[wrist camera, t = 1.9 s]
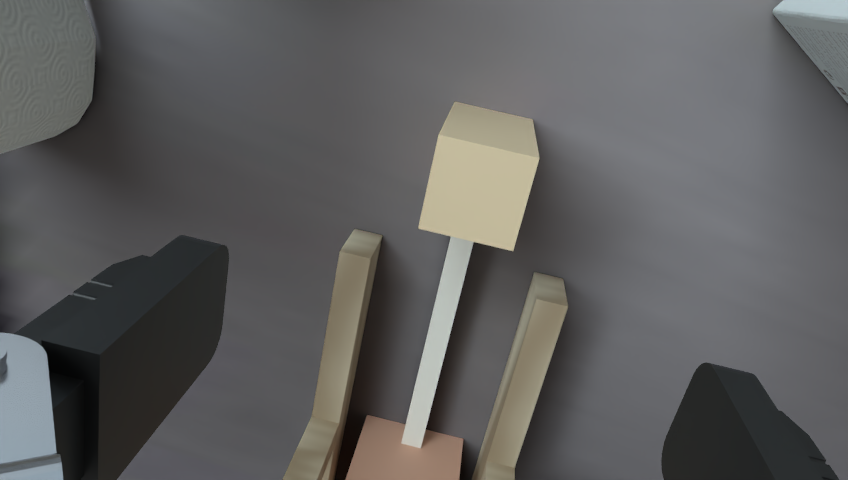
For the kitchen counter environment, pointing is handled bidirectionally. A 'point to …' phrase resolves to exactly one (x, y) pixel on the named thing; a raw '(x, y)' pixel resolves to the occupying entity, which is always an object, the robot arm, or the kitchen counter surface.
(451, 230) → the tethered block
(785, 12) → the small box
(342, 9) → the kitchen counter surface
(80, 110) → the tall grey box
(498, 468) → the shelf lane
